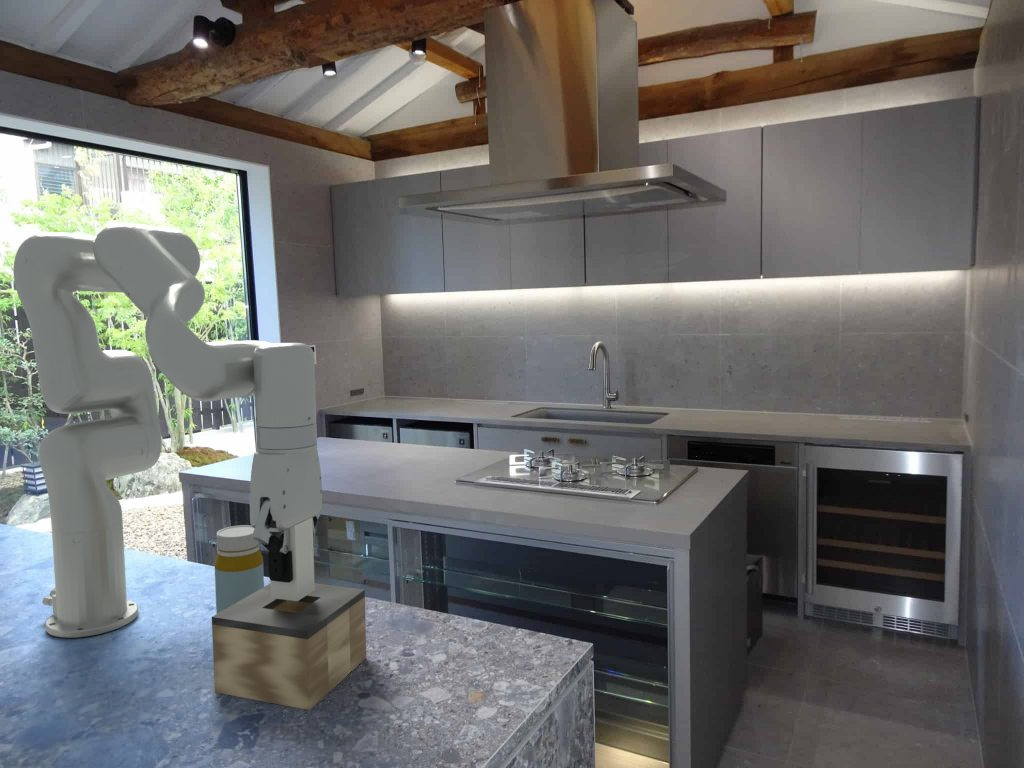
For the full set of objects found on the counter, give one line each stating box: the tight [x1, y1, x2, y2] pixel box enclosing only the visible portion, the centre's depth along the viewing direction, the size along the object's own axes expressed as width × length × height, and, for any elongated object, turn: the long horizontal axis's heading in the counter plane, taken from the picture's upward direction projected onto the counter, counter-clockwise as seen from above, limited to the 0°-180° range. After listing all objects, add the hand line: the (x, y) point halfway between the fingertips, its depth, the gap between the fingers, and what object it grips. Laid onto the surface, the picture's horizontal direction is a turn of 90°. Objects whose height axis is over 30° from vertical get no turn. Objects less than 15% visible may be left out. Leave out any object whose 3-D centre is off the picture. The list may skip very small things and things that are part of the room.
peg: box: [269, 517, 315, 601], centre depth 95 cm, size 4×4×10 cm
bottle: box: [214, 524, 265, 614], centre depth 112 cm, size 7×7×15 cm
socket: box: [211, 583, 367, 711], centre depth 96 cm, size 14×14×10 cm
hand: (291, 573), depth 96 cm, fingers closed on peg, 4 cm apart
